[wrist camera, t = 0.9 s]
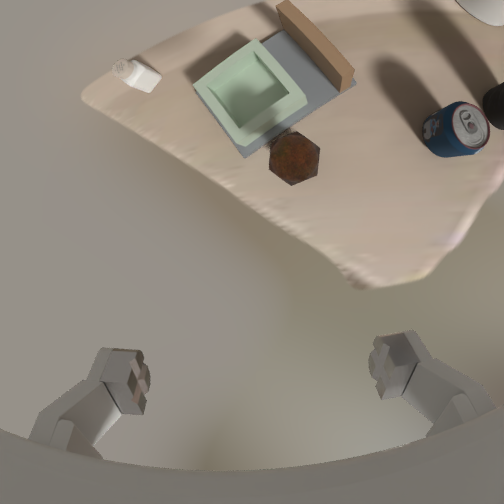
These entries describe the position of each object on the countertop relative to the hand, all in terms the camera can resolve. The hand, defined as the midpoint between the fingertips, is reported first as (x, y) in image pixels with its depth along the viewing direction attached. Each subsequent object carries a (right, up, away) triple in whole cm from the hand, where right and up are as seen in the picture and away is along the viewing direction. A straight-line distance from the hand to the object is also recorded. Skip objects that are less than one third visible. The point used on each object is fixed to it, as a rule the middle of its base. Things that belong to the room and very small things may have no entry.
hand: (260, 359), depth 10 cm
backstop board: (+3, +29, +32) cm, 44 cm away
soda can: (+29, +21, +28) cm, 46 cm away
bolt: (+8, +17, +35) cm, 39 cm away
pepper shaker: (-18, +34, +37) cm, 53 cm away
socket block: (0, +27, +32) cm, 42 cm away
